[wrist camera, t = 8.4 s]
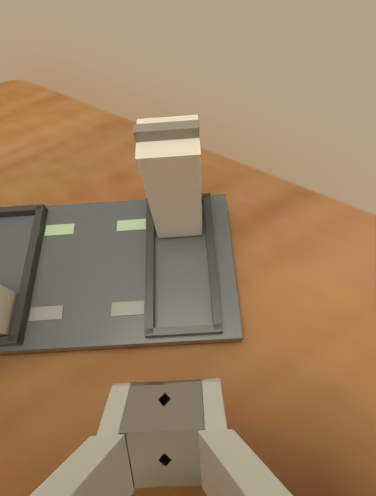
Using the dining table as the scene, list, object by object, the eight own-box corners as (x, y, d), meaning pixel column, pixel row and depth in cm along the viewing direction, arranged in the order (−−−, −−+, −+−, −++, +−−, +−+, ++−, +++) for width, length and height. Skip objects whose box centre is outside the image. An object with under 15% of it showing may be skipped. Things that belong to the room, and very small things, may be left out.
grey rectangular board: (-56, 357, 23) (-82, 353, 21) (-15, 220, 28) (-33, 206, 26) (240, 341, 22) (244, 335, 20) (224, 204, 27) (225, 188, 25)
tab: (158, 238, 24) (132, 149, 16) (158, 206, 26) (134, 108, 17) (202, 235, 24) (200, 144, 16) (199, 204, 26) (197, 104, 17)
